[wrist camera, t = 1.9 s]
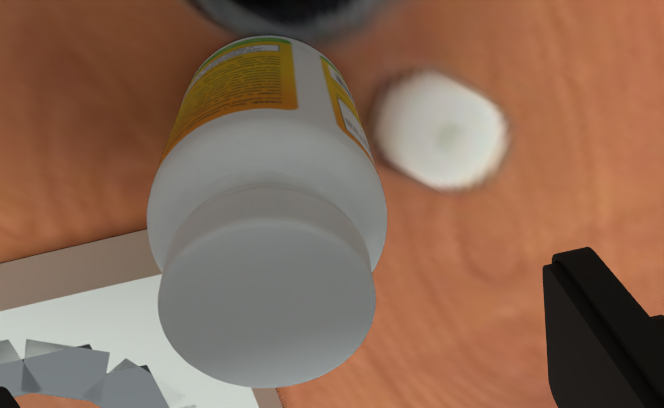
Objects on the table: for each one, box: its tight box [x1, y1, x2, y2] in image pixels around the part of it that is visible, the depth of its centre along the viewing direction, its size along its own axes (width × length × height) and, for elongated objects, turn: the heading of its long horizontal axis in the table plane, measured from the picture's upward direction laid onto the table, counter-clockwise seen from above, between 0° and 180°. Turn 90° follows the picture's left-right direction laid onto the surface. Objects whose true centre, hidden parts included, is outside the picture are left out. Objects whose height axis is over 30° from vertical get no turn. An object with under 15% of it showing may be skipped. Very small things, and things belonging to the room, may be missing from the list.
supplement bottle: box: [147, 35, 387, 388], centre depth 15 cm, size 5×5×10 cm
